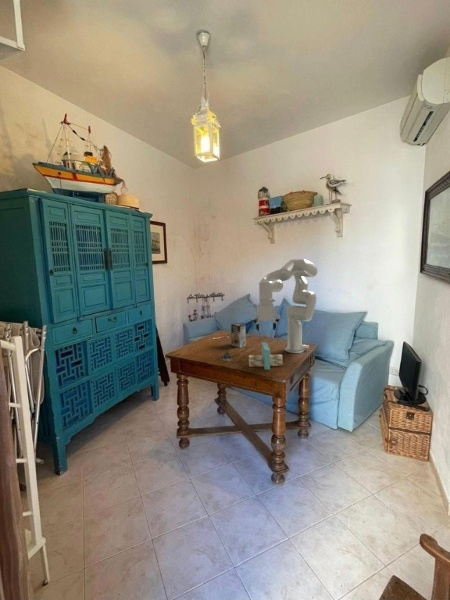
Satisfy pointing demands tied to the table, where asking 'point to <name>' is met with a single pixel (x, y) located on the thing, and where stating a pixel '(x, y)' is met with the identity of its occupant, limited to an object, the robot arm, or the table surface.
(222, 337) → the table surface
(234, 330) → the coffee box
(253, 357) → the slotted board
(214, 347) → the table surface
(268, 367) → the cross plate
